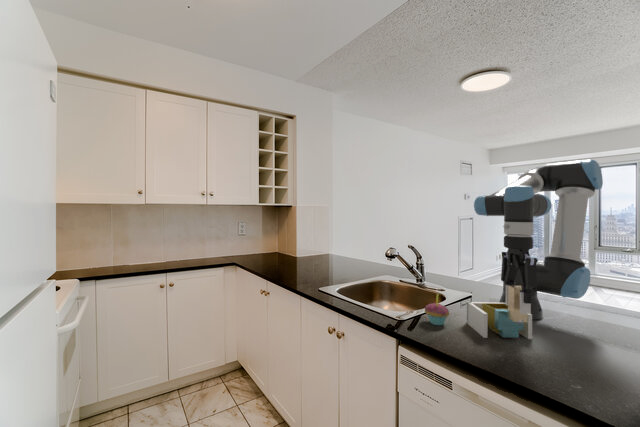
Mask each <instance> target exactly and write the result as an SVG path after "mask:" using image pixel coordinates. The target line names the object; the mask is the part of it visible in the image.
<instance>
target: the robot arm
mask: <svg viewBox="0 0 640 427" xmlns="http://www.w3.org/2000/svg"><path fill="white" fill-rule="evenodd" d="M603 184H604V182H603V173H602V170H601V167H600V165H599V163H598V162H597V161H596V160H595V159H579V160H573V161H566V162H565V161H564V162H556V163H546V164H543V165H540V166H537V167H535V168H532V169H530V170H528V171H526V172H524V173H522V174H521V175H519V177H518V178H517V179H516V180H515V181H513V182H512V183H510V184H507V185H506V186H504V187H503V188H500V189H499V190H497V191H495V192H494V193H491V194H490V195H481V196H479V195H478V196H477V197H476V198H475V200H474V203H473V208H474V212H475V214H476V215H478V216H482V217H483V216H486V217H504V219H503V221H504V222H503V231H504V232H503V234H504V237H503V247H505V248H506V249H507V251H501V258H502V260H501V273H500V281H501V282H502V294H501V296H500V299H499V301H498V303H506V305H507V306H508V285H515V286H521V288H522V290H519V291H520V313H521V314H531V315H532V320H540V319H543V317H544V316H543V315H544V313H543V311H544V310H543V309H542V306H541V303H540V301H539V299H538V293H544V294H547V295H548V294H549V295H554V296H559V297H562V298H565V299H567V298H569V299H574V300H575V299H576V300H577V299H580V298H582V297H584V295H586V293H587V291H588V289H589V286H590V284H591V271H590V269H589V268H587V267H586V263H585V262H584V261H583V259H581V255H582V246H583V238H584V231H585V224H586V218H587V211H588V210H587V209H588V204H589V199H590V198H592V197H593V196H594V195H595V191H596V190H597V191H598V190H600V189H602V187H603ZM541 192H543V193H544V192H554V193H555V195H556V196H557V197H558V202H557V209H556V216H555V222H554V228H553V236H552V242H551V248H550V253H549V254H547V255H545V256H544V260H543V261H539V259H538V257H536V256H531V255H530V250H532V249H533V248H534V238H533V235H534V217H535V218H538V217H543V216H545V215H547V214H548V213H549V212H550V211H551V209H552V202H551V200H550V198H549V197H547V196H546V195H544V194H540V193H541Z"/></svg>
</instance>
